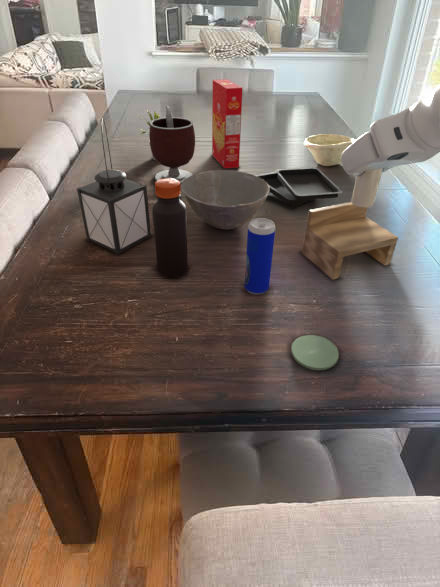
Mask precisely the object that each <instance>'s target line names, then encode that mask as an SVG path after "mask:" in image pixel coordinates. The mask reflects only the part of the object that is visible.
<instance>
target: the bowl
mask: <svg viewBox="0 0 440 587" xmlns="http://www.w3.org/2000/svg"><path fill="white" fill-rule="evenodd" d="M356 140H357V139H354V138H352V137H349V136H347V135H345V134H342V135H340V134H335V133H319V134H314V135H310V136H308V137H307V138H305V140H304V141H303V145H304V146H305V147H306V148H307V150H309V151H310V153H311V154H312V157H313V158H314V160H315V162H316V163H317V164H318V165H320V166H322V167H332V166H337V165H339V164H342V161H341V155H342V153H343V152H344V151H345V150H346V149H347V148H348V147H349V146H350V145H351V144H352V143H353V142H355V141H356Z"/></svg>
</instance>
